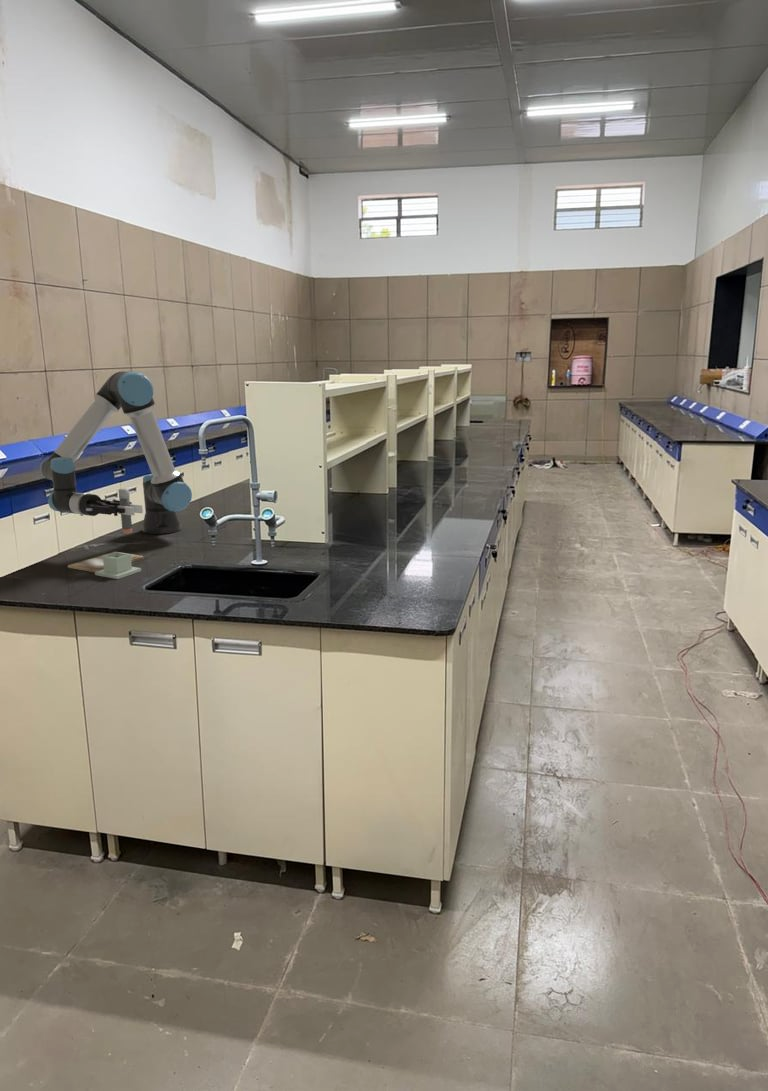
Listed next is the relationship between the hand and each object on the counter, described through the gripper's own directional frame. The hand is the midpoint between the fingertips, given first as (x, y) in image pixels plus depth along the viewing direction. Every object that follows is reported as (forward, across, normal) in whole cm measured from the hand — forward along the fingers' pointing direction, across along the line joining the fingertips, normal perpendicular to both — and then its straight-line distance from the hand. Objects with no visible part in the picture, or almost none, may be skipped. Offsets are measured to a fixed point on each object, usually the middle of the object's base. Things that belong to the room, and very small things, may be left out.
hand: (137, 510), depth 247 cm
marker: (-5, 0, -8) cm, 10 cm away
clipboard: (-10, +6, -18) cm, 22 cm away
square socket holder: (+3, +13, -18) cm, 23 cm away
